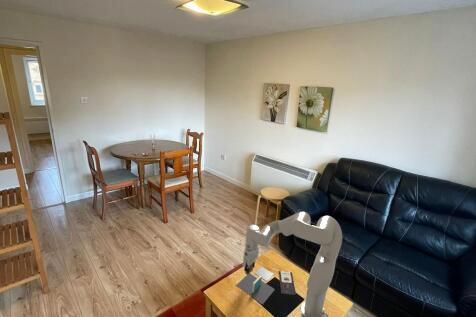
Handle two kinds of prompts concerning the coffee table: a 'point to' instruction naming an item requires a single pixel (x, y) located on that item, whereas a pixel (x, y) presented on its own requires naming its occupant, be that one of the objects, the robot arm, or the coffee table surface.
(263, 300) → the mat
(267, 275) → the pad
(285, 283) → the chocolate bar
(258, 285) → the tile
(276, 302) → the coffee table surface
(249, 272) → the flat brown wooden slab
